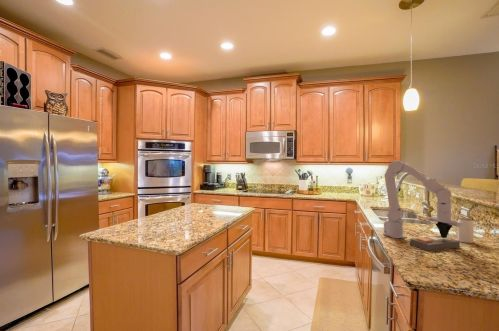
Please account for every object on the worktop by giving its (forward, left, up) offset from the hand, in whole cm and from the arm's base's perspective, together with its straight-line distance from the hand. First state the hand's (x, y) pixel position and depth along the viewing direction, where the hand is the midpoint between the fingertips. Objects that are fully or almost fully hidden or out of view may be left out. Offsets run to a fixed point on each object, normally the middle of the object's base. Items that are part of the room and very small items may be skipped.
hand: (443, 237), depth 126 cm
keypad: (0, -6, -4) cm, 8 cm away
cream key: (0, -6, -2) cm, 7 cm away
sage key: (0, 0, -3) cm, 3 cm away
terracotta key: (0, -13, -2) cm, 13 cm away
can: (-1, +17, -4) cm, 17 cm away
